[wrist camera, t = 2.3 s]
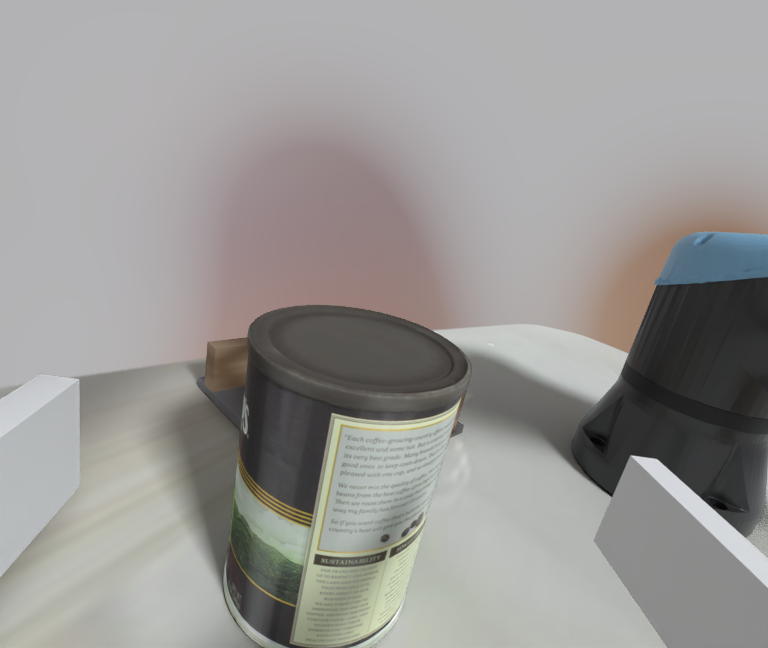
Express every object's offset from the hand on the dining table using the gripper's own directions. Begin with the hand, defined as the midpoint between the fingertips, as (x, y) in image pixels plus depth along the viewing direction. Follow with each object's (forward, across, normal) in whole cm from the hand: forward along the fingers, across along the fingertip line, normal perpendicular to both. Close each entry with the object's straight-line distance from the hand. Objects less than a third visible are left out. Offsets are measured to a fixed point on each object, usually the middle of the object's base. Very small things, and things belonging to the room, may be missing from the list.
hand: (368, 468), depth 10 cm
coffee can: (+10, 0, -15) cm, 18 cm away
